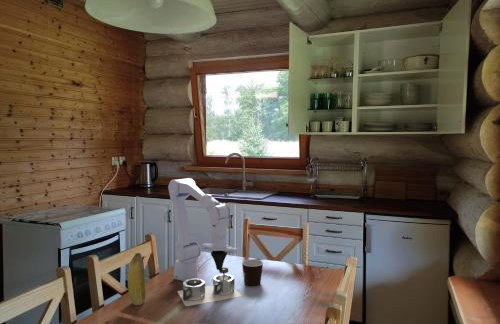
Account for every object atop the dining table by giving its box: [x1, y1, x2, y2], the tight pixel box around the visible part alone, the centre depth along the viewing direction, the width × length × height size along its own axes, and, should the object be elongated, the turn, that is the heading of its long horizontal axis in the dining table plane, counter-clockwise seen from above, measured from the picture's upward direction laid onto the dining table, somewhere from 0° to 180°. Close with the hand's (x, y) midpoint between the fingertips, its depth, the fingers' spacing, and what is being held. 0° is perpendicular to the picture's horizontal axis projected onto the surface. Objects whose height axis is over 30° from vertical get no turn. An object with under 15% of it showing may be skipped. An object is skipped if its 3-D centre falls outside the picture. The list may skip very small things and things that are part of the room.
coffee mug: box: [241, 258, 264, 288], centre depth 159 cm, size 12×9×10 cm
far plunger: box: [218, 267, 230, 281], centre depth 150 cm, size 5×5×4 cm
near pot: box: [182, 277, 206, 301], centre depth 144 cm, size 8×11×5 cm
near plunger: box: [189, 280, 199, 286], centre depth 145 cm, size 5×5×4 cm
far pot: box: [212, 273, 235, 296], centre depth 149 cm, size 8×11×5 cm
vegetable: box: [127, 252, 146, 306], centre depth 139 cm, size 6×6×20 cm
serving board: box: [176, 284, 242, 307], centre depth 148 cm, size 22×14×1 cm, turn 113°
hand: (219, 269), depth 149 cm, fingers closed
